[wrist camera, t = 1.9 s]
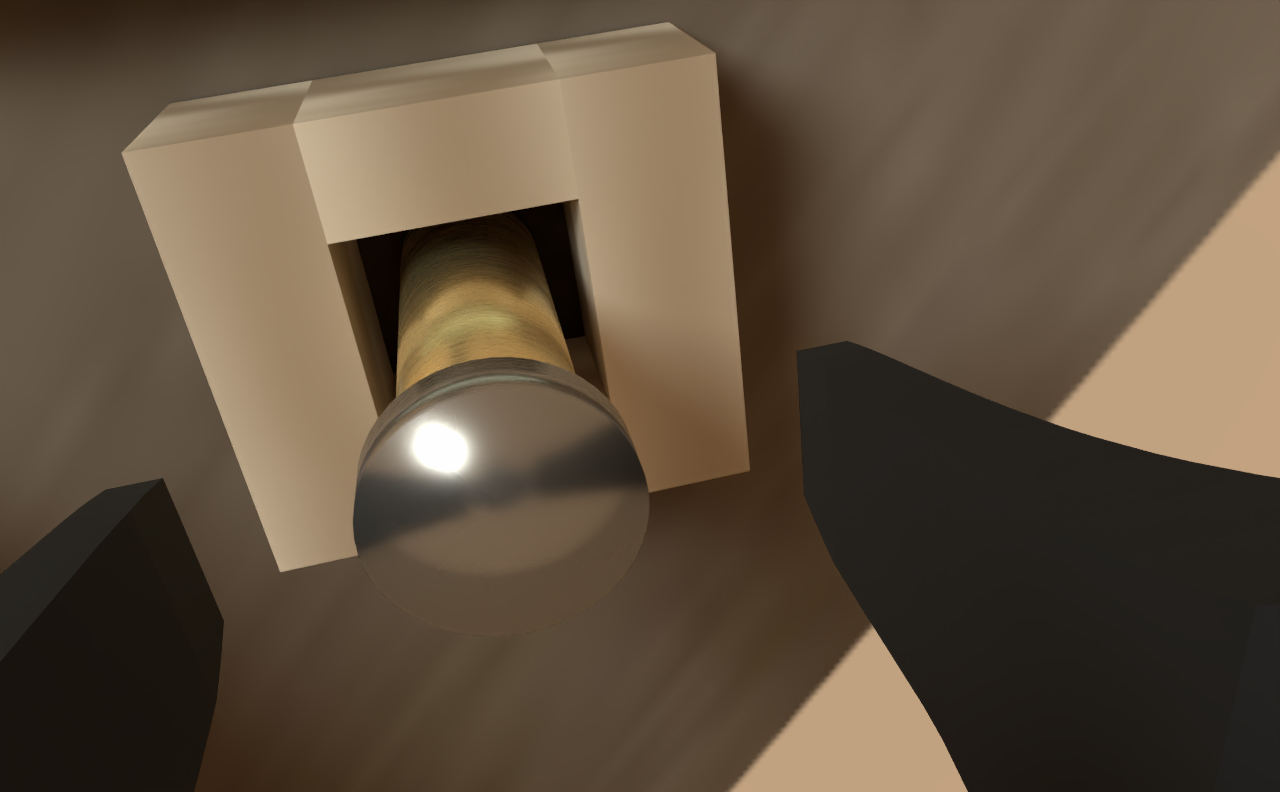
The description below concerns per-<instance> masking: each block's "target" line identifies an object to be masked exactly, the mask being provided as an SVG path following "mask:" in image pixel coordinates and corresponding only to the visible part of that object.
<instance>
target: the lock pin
mask: <svg viewBox="0 0 1280 792" xmlns="http://www.w3.org/2000/svg"><path fill="white" fill-rule="evenodd" d="M649 508H650V504H649V490H648V486H647V481H646V477H645V474H644V471H643V468H642V465H641V463H640V460H639V457H638V455H637V452H636V449H635V447H634V444H633V441H632V439H631V436H630V434H629V431H628V429H627V426H626V424H625V422H624V420H623V419H622V417H621V415H620V414H619V412H618V410H617V409H616V408H615V407H614V406H613V404H612V403H611V402H610V401H609V399H608V398H607V397H606V396H605V395H603V394H602V393H601V392H600V391H599V390H598V389H597V388H596V387H595V386H593V385H592V384H590V383H589V382H587V381H586V380H584V379H583V378H582V377H580V376H578V375H576V374H575V371H574V368H573V365H572V361H571V358H570V355H569V352H568V348H567V345H566V342H565V339H564V335H563V332H562V329H561V326H560V323H559V319H558V316H557V313H556V310H555V306H554V303H553V300H552V297H551V294H550V290H549V287H548V284H547V281H546V277H545V274H544V271H543V268H542V264H541V261H540V258H539V255H538V252H537V248H536V245H535V242H534V240H533V237H532V235H531V234H530V232H529V230H528V228H527V227H526V226H525V224H524V223H523V222H522V221H521V220H520V219H519V218H518V217H517V216H516V215H515V214H514V213H512V212H511V211H509V212H503V213H498V214H492V215H487V216H481V217H476V218H470V219H465V220H459V221H454V222H448V223H443V224H437V225H432V226H426V227H421V228H415V229H410V231H409V233H408V234H407V236H406V239H405V241H404V244H403V248H402V253H401V267H400V297H399V326H398V355H397V384H396V399H394V400H393V401H392V402H391V403H390V404H389V405H388V406H387V408H386V409H385V410H384V411H383V412H382V414H381V415H380V416H379V417H378V419H377V420H376V422H375V423H374V425H373V427H372V428H371V430H370V432H369V433H368V436H367V438H366V440H365V443H364V445H363V447H362V450H361V454H360V458H359V462H358V469H357V479H356V490H355V501H354V512H353V534H354V541H355V545H356V549H357V553H358V556H359V558H360V560H361V563H362V565H363V568H364V570H365V571H366V573H367V574H368V576H369V578H370V579H371V581H372V582H373V584H374V585H375V586H376V587H377V588H378V590H379V591H380V592H381V593H382V594H383V595H384V596H385V597H386V598H387V599H388V600H389V601H390V602H392V603H393V604H394V605H395V606H396V607H398V608H399V609H401V610H402V611H404V612H405V613H406V614H408V615H409V616H411V617H413V618H415V619H417V620H419V621H421V622H423V623H425V624H428V625H431V626H433V627H436V628H439V629H442V630H446V631H450V632H454V633H458V634H465V635H472V636H492V637H496V636H510V635H517V634H523V633H529V632H533V631H537V630H540V629H544V628H547V627H550V626H553V625H555V624H558V623H560V622H563V621H565V620H567V619H569V618H571V617H573V616H575V615H577V614H579V613H581V612H582V611H584V610H585V609H587V608H588V607H590V606H592V605H593V604H595V603H596V602H597V601H598V600H600V599H601V598H602V597H603V596H604V595H606V594H607V593H608V592H609V591H610V590H611V589H612V588H613V587H614V586H615V585H616V584H617V583H618V582H619V581H620V580H621V578H622V577H623V576H624V574H625V573H626V572H627V570H628V569H629V568H630V566H631V565H632V563H633V561H634V559H635V558H636V556H637V554H638V552H639V550H640V547H641V545H642V542H643V540H644V537H645V533H646V529H647V525H648V519H649Z"/></svg>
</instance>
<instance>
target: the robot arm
mask: <svg viewBox="0 0 1280 792" xmlns="http://www.w3.org/2000/svg"><path fill="white" fill-rule="evenodd" d="M797 368H798V387H799V406H800V426H801V445H802V464H803V484H804V496H805V499H806V501H807V503H808V506H809V508H810V510H811V513H812V515H813V517H814V520H815V522H816V524H817V527H818V529H819V531H820V534H821V536H822V538H823V540H824V542H825V545H826V547H827V549H828V551H829V553H830V555H831V558H832V560H833V562H834V564H835V565H836V567H837V569H838V570H839V572H840V574H841V575H842V577H843V579H844V580H845V582H846V583H847V585H848V587H849V588H850V590H851V592H852V593H853V595H854V596H855V598H856V600H857V601H858V603H859V604H860V606H861V608H862V609H863V611H864V613H865V614H866V616H867V617H868V619H869V620H870V622H871V624H872V625H873V627H874V628H875V630H876V632H877V633H878V635H879V636H880V638H881V639H882V641H883V643H884V644H885V646H886V647H887V649H888V650H889V652H890V653H891V655H892V657H893V658H894V660H895V662H896V663H897V665H898V666H899V668H900V670H901V671H902V673H903V674H904V676H905V677H906V679H907V681H908V682H909V684H910V685H911V687H912V689H913V690H914V692H915V693H916V695H917V696H918V698H919V699H920V701H921V703H922V704H923V706H924V708H925V710H926V711H927V713H928V715H929V716H930V718H931V720H932V722H933V724H934V725H935V727H936V729H937V731H938V732H939V734H940V736H941V738H942V740H943V741H944V743H945V746H946V747H947V750H948V752H949V754H950V756H951V758H952V760H953V762H954V764H955V766H956V768H957V770H958V772H959V774H960V776H961V778H962V780H963V782H964V785H965V787H966V788H967V790H968V792H1280V478H1275V477H1268V476H1263V475H1256V474H1252V473H1246V472H1241V471H1236V470H1231V469H1226V468H1220V467H1215V466H1210V465H1205V464H1200V463H1194V462H1189V461H1186V460H1181V459H1177V458H1172V457H1167V456H1164V455H1159V454H1155V453H1151V452H1148V451H1143V450H1140V449H1137V448H1133V447H1129V446H1125V445H1122V444H1118V443H1115V442H1111V441H1107V440H1104V439H1100V438H1096V437H1093V436H1090V435H1086V434H1083V433H1080V432H1077V431H1074V430H1070V429H1067V428H1064V427H1061V426H1058V425H1055V424H1053V423H1050V422H1047V421H1044V420H1042V419H1039V418H1036V417H1033V416H1030V415H1028V414H1025V413H1022V412H1019V411H1016V410H1014V409H1011V408H1008V407H1006V406H1003V405H1001V404H998V403H996V402H993V401H991V400H988V399H986V398H983V397H981V396H978V395H976V394H973V393H971V392H968V391H966V390H964V389H961V388H959V387H957V386H954V385H952V384H950V383H947V382H945V381H943V380H940V379H938V378H936V377H933V376H931V375H929V374H927V373H924V372H922V371H920V370H917V369H915V368H913V367H911V366H908V365H906V364H904V363H902V362H899V361H897V360H895V359H892V358H890V357H888V356H885V355H883V354H881V353H878V352H876V351H873V350H871V349H868V348H866V347H863V346H861V345H858V344H855V343H852V342H848V341H845V342H840V343H835V344H830V345H825V346H820V347H815V348H810V349H805V350H800V351H797ZM223 625H224V620H223V618H222V615H221V613H220V611H219V608H218V606H217V604H216V601H215V599H214V597H213V594H212V592H211V590H210V587H209V585H208V583H207V580H206V578H205V576H204V573H203V571H202V569H201V566H200V564H199V562H198V559H197V557H196V555H195V552H194V550H193V548H192V545H191V543H190V541H189V538H188V536H187V534H186V531H185V529H184V526H183V524H182V522H181V519H180V517H179V515H178V512H177V510H176V508H175V505H174V503H173V501H172V498H171V496H170V494H169V491H168V489H167V487H166V484H165V482H164V480H163V478H162V479H157V480H152V481H147V482H142V483H137V484H132V485H127V486H122V487H117V488H112V489H107V490H104V491H103V492H101V493H100V494H98V495H97V496H95V497H94V498H92V499H91V500H90V501H88V502H87V503H86V504H84V505H83V506H82V507H80V508H79V509H78V510H77V511H75V512H74V513H73V514H72V515H70V516H69V517H68V518H67V519H65V520H64V521H63V522H62V523H61V524H59V525H58V526H57V527H56V528H55V529H53V530H52V531H51V532H50V533H49V534H47V535H46V536H45V537H44V538H43V539H42V540H40V541H39V542H38V543H37V544H36V545H35V546H33V547H32V548H31V549H30V550H29V551H28V552H26V553H25V554H24V555H23V556H22V557H21V558H19V559H18V560H17V561H16V562H15V563H13V564H12V565H11V566H10V567H9V568H8V569H6V570H5V571H4V572H3V573H2V574H1V575H0V792H194V790H195V786H196V782H197V778H198V774H199V770H200V766H201V762H202V758H203V754H204V750H205V746H206V742H207V738H208V734H209V730H210V726H211V722H212V717H213V713H214V709H215V704H216V699H217V690H218V682H219V673H220V663H221V651H222V638H223Z"/></svg>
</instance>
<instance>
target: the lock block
mask: <svg viewBox="0 0 1280 792" xmlns="http://www.w3.org/2000/svg"><path fill="white" fill-rule="evenodd" d="M122 155H123V158H124V161H125V163H126V166H127V169H128V171H129V174H130V177H131V179H132V182H133V184H134V187H135V190H136V192H137V195H138V198H139V200H140V203H141V206H142V208H143V211H144V214H145V216H146V219H147V221H148V224H149V227H150V229H151V232H152V235H153V237H154V240H155V243H156V245H157V248H158V250H159V253H160V256H161V258H162V261H163V264H164V266H165V269H166V272H167V274H168V277H169V280H170V282H171V285H172V287H173V290H174V293H175V295H176V298H177V301H178V303H179V306H180V309H181V311H182V314H183V316H184V319H185V322H186V324H187V327H188V330H189V332H190V335H191V338H192V340H193V343H194V346H195V348H196V351H197V353H198V356H199V359H200V361H201V364H202V367H203V369H204V372H205V375H206V377H207V380H208V382H209V385H210V388H211V390H212V393H213V396H214V398H215V401H216V404H217V406H218V409H219V412H220V414H221V417H222V419H223V422H224V425H225V427H226V430H227V433H228V435H229V438H230V441H231V443H232V446H233V449H234V451H235V454H236V456H237V459H238V462H239V464H240V467H241V470H242V472H243V475H244V478H245V480H246V483H247V485H248V488H249V491H250V493H251V496H252V499H253V501H254V504H255V507H256V509H257V512H258V515H259V517H260V520H261V522H262V525H263V528H264V530H265V533H266V536H267V538H268V541H269V544H270V546H271V549H272V551H273V554H274V557H275V559H276V562H277V565H278V567H279V570H280V572H283V571H288V570H292V569H297V568H302V567H306V566H311V565H315V564H320V563H325V562H329V561H334V560H339V559H343V558H348V557H353V556H357V555H358V553H357V549H356V545H355V541H354V534H353V512H354V501H355V490H356V479H357V469H358V462H359V458H360V454H361V450H362V447H363V445H364V443H365V440H366V438H367V436H368V433H369V432H370V430H371V428H372V427H373V425H374V423H375V422H376V420H377V419H378V417H379V416H380V415H381V414H382V412H383V411H384V410H385V409H386V408H387V406H388V405H389V404H390V403H391V402H392V401H393V400H394V399H396V384H397V373H394V374H393V372H392V368H391V364H390V361H389V357H388V353H387V350H386V346H385V342H384V339H383V335H382V332H381V328H380V324H379V321H378V317H377V313H376V310H375V306H374V302H373V299H372V295H371V292H370V288H369V284H368V281H367V277H366V273H365V270H364V266H363V262H362V259H361V255H360V252H359V248H358V244H357V241H356V239H360V238H365V237H371V236H376V235H382V234H387V233H393V232H399V231H404V230H410V229H415V228H421V227H426V226H432V225H437V224H443V223H448V222H454V221H459V220H465V219H470V218H476V217H481V216H487V215H492V214H498V213H503V212H509V211H514V210H520V209H525V208H531V207H536V206H542V205H547V204H553V203H558V202H563V205H564V211H565V217H566V223H567V229H568V235H569V241H570V247H571V253H572V259H573V265H574V271H575V277H576V284H577V290H578V296H579V302H580V308H581V314H582V320H583V326H584V332H585V336H582V337H577V338H572V339H567V340H565V342H566V345H567V348H568V352H569V355H570V358H571V361H572V365H573V368H574V371H575V374H576V375H578V376H580V377H582V378H583V379H584V380H586V381H587V382H589V383H590V384H592V385H593V386H595V387H596V388H597V389H598V390H599V391H600V392H601V393H602V394H603V395H605V396H606V397H607V398H608V399H609V401H610V402H611V403H612V404H613V406H614V407H615V408H616V409H617V410H618V412H619V414H620V415H621V417H622V419H623V420H624V422H625V424H626V426H627V429H628V431H629V434H630V436H631V439H632V441H633V444H634V447H635V449H636V452H637V455H638V457H639V460H640V463H641V465H642V468H643V471H644V474H645V477H646V481H647V486H648V490H649V492H654V491H659V490H663V489H668V488H673V487H677V486H682V485H687V484H691V483H696V482H700V481H705V480H710V479H714V478H719V477H724V476H728V475H733V474H738V473H742V472H747V471H750V464H749V452H748V440H747V428H746V416H745V404H744V392H743V380H742V367H741V355H740V343H739V331H738V319H737V307H736V295H735V283H734V271H733V259H732V246H731V234H730V222H729V210H728V198H727V186H726V174H725V162H724V150H723V137H722V125H721V113H720V101H719V89H718V77H717V65H716V53H715V52H713V51H712V50H710V49H709V48H707V47H706V46H704V45H702V44H701V43H699V42H698V41H696V40H695V39H693V38H692V37H690V36H689V35H687V34H686V33H684V32H683V31H681V30H680V29H678V28H677V27H675V26H674V25H672V24H671V23H669V22H666V23H660V24H654V25H648V26H642V27H636V28H629V29H623V30H617V31H611V32H605V33H599V34H593V35H587V36H580V37H574V38H568V39H562V40H556V41H550V42H544V43H538V44H532V45H525V46H519V47H513V48H507V49H501V50H495V51H489V52H483V53H476V54H470V55H464V56H458V57H452V58H446V59H440V60H434V61H427V62H421V63H415V64H409V65H403V66H397V67H391V68H385V69H379V70H372V71H366V72H360V73H354V74H348V75H342V76H336V77H330V78H323V79H317V80H311V81H305V82H299V83H293V84H287V85H281V86H275V87H268V88H262V89H256V90H250V91H244V92H238V93H232V94H226V95H219V96H213V97H207V98H201V99H195V100H189V101H183V102H177V103H171V104H169V105H168V106H167V107H166V108H165V109H164V110H163V111H162V112H161V113H160V114H159V115H158V116H157V117H156V118H155V119H154V120H153V121H152V122H151V123H150V124H149V125H148V126H147V127H146V128H145V129H144V130H143V131H142V132H141V133H140V134H139V135H138V136H137V138H136V139H135V140H134V141H133V142H132V143H131V144H130V145H129V146H128V147H127V148H126V149H125V150H124V151H123V152H122Z"/></svg>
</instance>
